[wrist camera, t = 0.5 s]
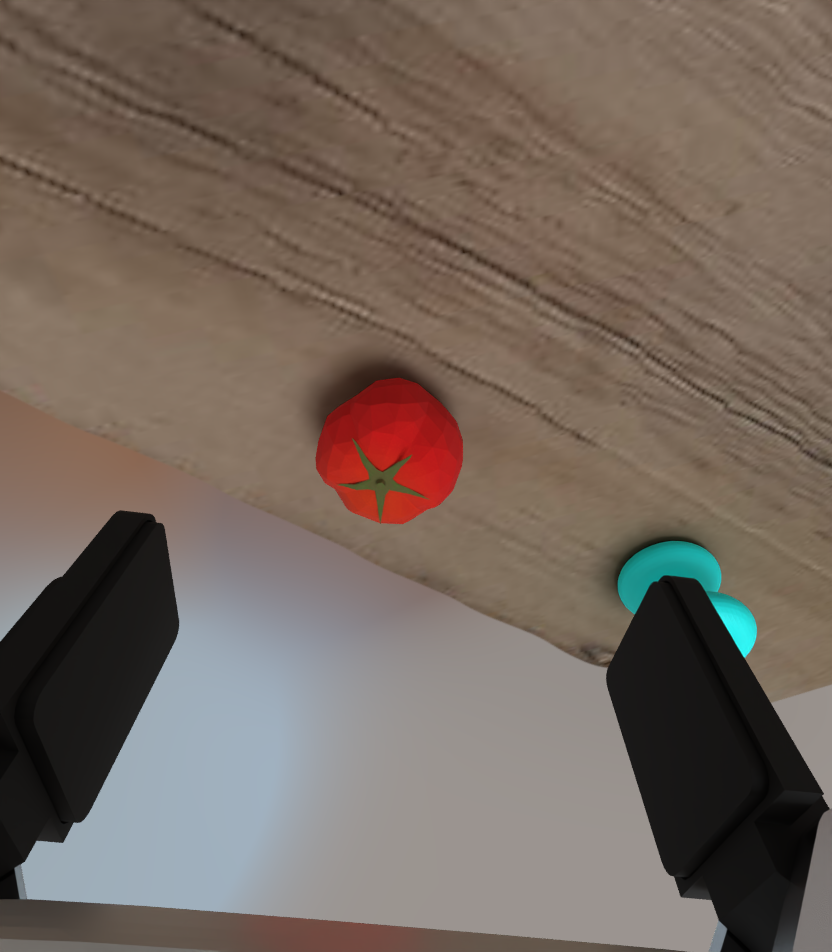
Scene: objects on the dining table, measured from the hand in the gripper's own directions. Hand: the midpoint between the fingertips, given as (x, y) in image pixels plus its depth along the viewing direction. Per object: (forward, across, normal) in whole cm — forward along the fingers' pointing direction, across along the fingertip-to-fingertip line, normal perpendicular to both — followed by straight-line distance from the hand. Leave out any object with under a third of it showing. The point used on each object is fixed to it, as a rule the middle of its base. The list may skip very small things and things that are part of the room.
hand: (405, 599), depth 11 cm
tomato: (+36, +1, +15) cm, 38 cm away
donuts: (+35, -29, +28) cm, 54 cm away
